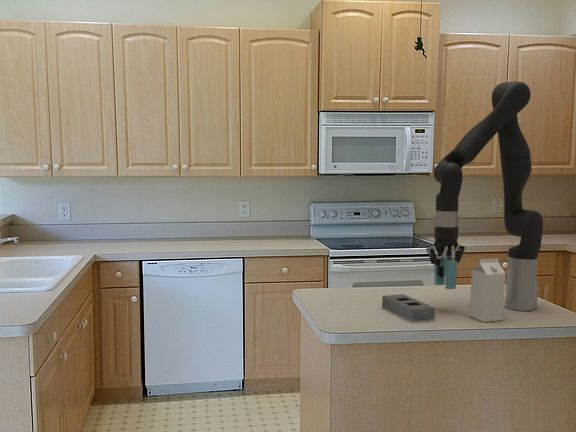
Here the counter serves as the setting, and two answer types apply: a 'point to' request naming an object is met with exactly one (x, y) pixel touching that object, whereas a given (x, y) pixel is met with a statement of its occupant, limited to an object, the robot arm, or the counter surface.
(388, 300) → the grey socket block
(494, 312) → the milk carton
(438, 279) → the teal elongated block
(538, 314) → the counter surface
